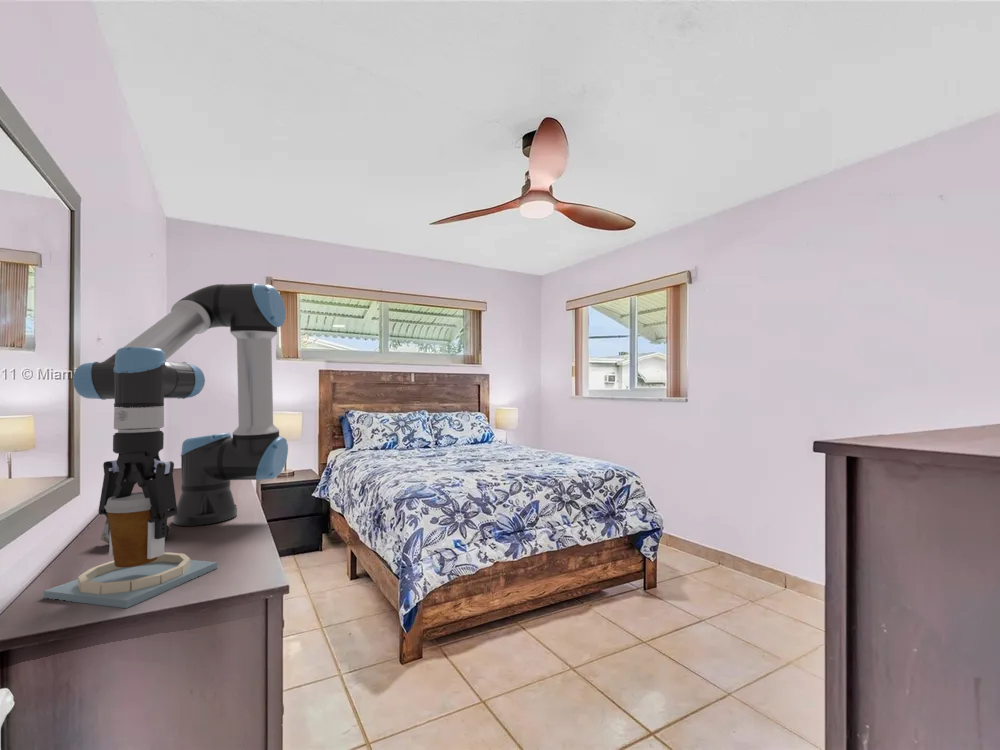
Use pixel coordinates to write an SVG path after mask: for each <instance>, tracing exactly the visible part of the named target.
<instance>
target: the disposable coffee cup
mask: <svg viewBox="0 0 1000 750" xmlns="http://www.w3.org/2000/svg"><path fill="white" fill-rule="evenodd" d="M151 506H152V505H151V504H150V498H145V496H144V493H143V491H139V492H137V491H136V492H132V493H131V496H126V497H122V498H116V496H113V497H110V498H108V501H107V504H106V505H105V506H104V508H105V509H106V512H107V513H108V519H109V527H110V534H111V541H112V548H113V561H114V564H115V566H116V567H121V568H123V567H134V566H140V565H144V564H148V563H150V562H153V561H155V560H156V559H157V558H158V557H155V558H152V559H147V545H148V522H149V521H148V520H150V519H152V518H151V515H150V512H149V510H150V507H151ZM159 513H160V511H159V512H158V514H159Z"/></svg>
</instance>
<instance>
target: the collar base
mask: <svg viewBox="0 0 1000 750" xmlns="http://www.w3.org/2000/svg"><path fill="white" fill-rule="evenodd" d="M214 569H215V570H217V569H218V561H208V560H197V559H196V560H195V559H191V558H190V557H189V556H188V555H187V554H185V553H180V552H178V553H177V552H166V551H164V554H163V555H161V556H158V558H157V559H156V560H155V561H153V562H150V563H148V564H144V565H140V566H134V567H123V568H121V567H116V566H115V564H114V560H111V561H108V562H105V563H102V564H100V565H97V566H93V567H92V568H89V569H87V570H86V571H84V572H83V573H81V574H80V575H78V576H77V578H76V579H73V580H70V581H68V582H65V583H62V584H60V585H57V586H54V587H51V588H48V589H45V590H43V596H42V597H43V599H47V598H49V599H48V600H55V599H59V600H58V601H63V600H66V601H65V602H71V601H72V602H73V603H80V604H81V603H82V604H89V605H96V606H105V607H114V608H122V609H128V608H130V607H132V606H135V605H137V604H140V603H142V602H144V601H146V600H148V599H151V598H153V597H156V596H157V595H160V594H162V593H165V592H167V591H169V590H171V589H173V588H176V587H179V586H180V585H182V584H185V583H187V582H190V581H191V579H192V580H193V579H196V578H199V577H201V576H203V575H205V574H208V573H210V572H212V571H215V570H214ZM207 572H208V573H207ZM198 576H199V577H198ZM189 580H190V581H189Z"/></svg>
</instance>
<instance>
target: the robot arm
mask: <svg viewBox="0 0 1000 750" xmlns="http://www.w3.org/2000/svg"><path fill="white" fill-rule="evenodd" d="M285 320H286V307H285V304H284V300H283V297H282V296H281V294H280V292H279V291H278V289H277V288H276V287H274V286H273V285H270V284H262V283H240V284H239V283H237V284H232V283H231V284H229V283H228V284H226V283H224V284H223V283H222V284H221V283H220V284H212V285H207V286H204V287H203V288H202V287H201V288H199V289H197V290H195V291H193V292H191V293H189V294H187V295H185V296H184V297H181V299H179V300H178V301H176V302H175V303H174V304H173V305H172V306H171V310H170V312H169V313H167V315H165V316H163V317H162V318H161V319H160V320H158V321H157V322H155V323H154V324H153V325H152V326H150V327H149V328H147V329H146V330H145V331H143V332H142V333H141V334H139V335H138V336H137V337H135V338H134V339H132V340H131V341H130V342H128V343H127V344H126V345H124V346H123V347H120V348H118V349H117V350H116V352H115V353H114V354H112V355H111V356H109V357H108V358H106V359H105V360H103V361H101V362H99V361H93V362H86V363H82V364H80V365H79V366H77V368H76V369H75V371H74V373H73V376H72V384H73V385H72V386H73V387H74V389H75V392H77V394H78V395H79V396H80V397H83V398H85V399H90V400H93V399H97V400H102V401H105V400H114V403H113V406H114V407H113V429H114V430H116V431H117V432H115V433H114V434H113V435H112V452H113V453H114V454H118V456H117V459H116V460H110V461H104V462H103V464H102V467H103V474H104V475H103V481H102V487H101V494H100V499H99V505H98V514H99V515H100V516H102V515H104V516H105V518H106V519H107V518H108V513H107V512H106V509H105V508H104V506H105V505H106V504H107V501H108V498H110V497H113V496H116V498H122V497H126V496H131V493H133V489H134V487H135V485H136V484H137V486H138V487H140V488H141V491H142V492H143V493H144V496H145V498H150V504H151V505H152V506H151V507H150V510H149V512H150V515H151V518H152V519H150V520H148V521H149V522H148V545H147V559H152V558H155V557H158V556H161V555H163V554H164V553H165V552H166V551H165V547H166V546H165V544H166V543H165V542H166V541H165V540H166V539H165V537H166V535H167V526H168V519H169V518H171V517H172V523H173V525H175V526H180V527H181V526H184V527H185V526H187V527H189V526H192V527H193V526H195V527H196V526H204V525H203V524H206V525H210V524H211V523H212V524H216V523H217V522H218V523H221V521H222V522H226V521H229V520H232V519H234V518H236V517H237V516H238V506H237V505H236V504H235V503H236V502H235V499H234V497H233V493H232V490H231V481H263V480H273V479H275V478H277V477H278V476H280V474H281V473H282V472H283V470H284V467H285V466H286V463H287V458H288V453H289V445H288V442H287V439H286V438H285V437H284V436H280V429H279V428H278V427H277V426H275V423H274V405H273V404H274V403H273V400H274V399H273V397H274V396H273V395H274V394H273V393H274V392H273V356H272V355H273V354H272V352H273V350H272V349H273V348H272V341H273V338H274V337H275V336H276V335H278V328H280V327H283V325H284V323H285ZM220 327H221V328H222V327H223V328H224V327H225V328H229V329H230V330H229V331H230V334H231V335H232V336H233V337H234V338H235V339H236V358H237V359H236V360H237V361H236V363H237V367H236V368H237V400H238V401H237V402H238V404H237V407H238V426H237V428H236V429H235V430H234V431H232V434H231V433H230V432H223V433H215V434H209V435H208V434H207V435H203V436H196V437H190V438H186V439H185V440H184V441H183V442H182V445H181V453H180V457H181V459H180V460H181V461H180V462H181V465H180V466H181V467H180V470H181V471H180V473H181V475H180V478H181V480H180V481H181V482H180V483H181V484H180V486H181V487H180V489H181V490H180V496H179V499H178V502H177V498H176V491H175V482H174V474H173V473H174V469H175V467H174V466H175V463H174V462H173V461H163V460H161V458H160V452H161V451H162V450H163V449H164V444H165V443H164V439H165V437H164V432H163V430H161V429H162V428H164V427H165V399H183V400H184V399H188V398H193V397H196V396H197V395H198V394H200V392H201V391H202V390H203V389H204V387H205V382H206V378H205V377H206V376H205V374H204V372H203V370H202V369H201V368H200V367H199V366H197V365H195V364H192V363H188V362H187V361H186V362H185V361H183V362H177V361H169V360H168V359H169V358H170V357H172V356H173V355H174V354H175V353H176V352H177V351H178V350H180V349H181V348H182V347H183V346H184V345H185V344H186V343H187V342H189V341H190V340H191V339H192V338H193V337H194V336H195V335H201V334H204V333H205V332H207V331H208V330H209V329H212V328H213V329H214V328H220ZM159 511H160V513H159V514H158V512H159ZM236 515H237V516H236ZM235 516H236V517H235ZM233 517H234V518H233ZM231 518H232V519H231ZM228 519H229V520H228ZM108 520H109V519H108ZM225 520H226V521H225ZM218 523H217V524H218ZM108 529H109V530H108V534H109V535H110V540H109V543H108V545H109V547H108V548H109V549H108V550H109V551H108V556H110V557H111V556H113V548H112V541H111V534H110V527H109V521H108ZM167 536H168V535H167ZM166 538H167V537H166ZM113 557H114V556H113Z"/></svg>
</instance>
